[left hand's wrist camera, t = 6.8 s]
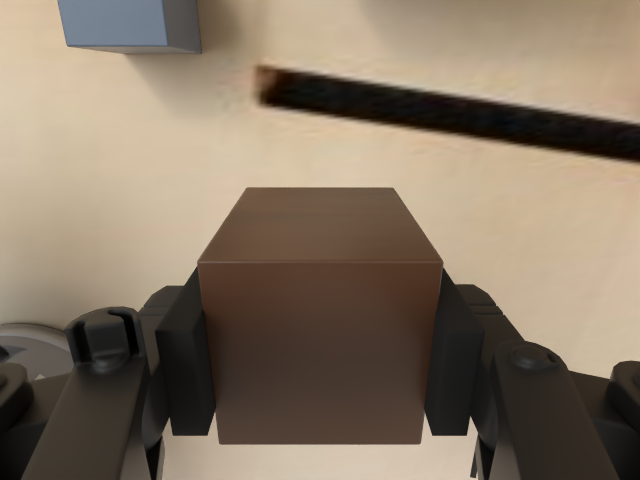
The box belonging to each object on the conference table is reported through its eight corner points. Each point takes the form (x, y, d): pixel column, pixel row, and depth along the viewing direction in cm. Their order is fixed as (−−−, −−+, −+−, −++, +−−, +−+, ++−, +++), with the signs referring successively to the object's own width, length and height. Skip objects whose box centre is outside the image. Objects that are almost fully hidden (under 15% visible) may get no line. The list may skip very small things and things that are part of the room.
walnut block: (384, 314, 16) (421, 445, 10) (254, 314, 16) (218, 445, 10) (393, 187, 14) (444, 260, 8) (246, 186, 14) (196, 260, 8)
